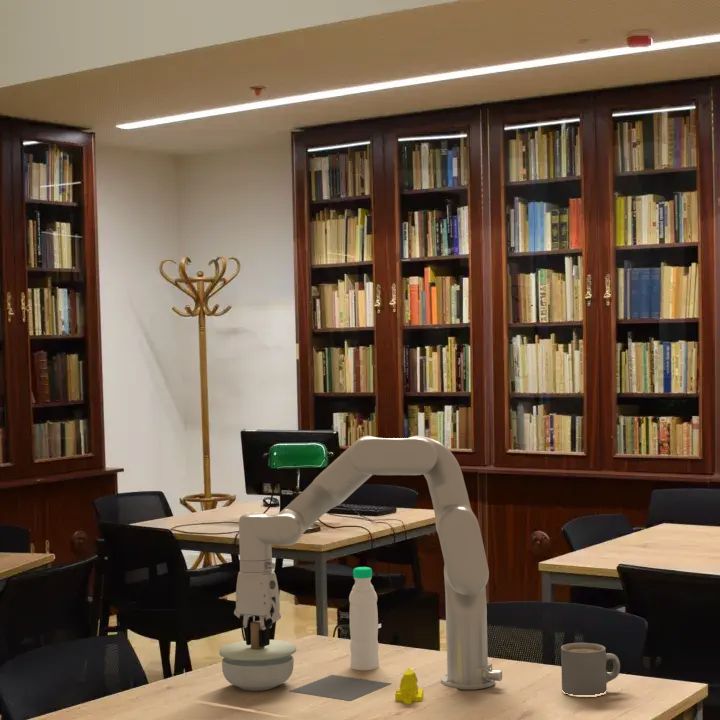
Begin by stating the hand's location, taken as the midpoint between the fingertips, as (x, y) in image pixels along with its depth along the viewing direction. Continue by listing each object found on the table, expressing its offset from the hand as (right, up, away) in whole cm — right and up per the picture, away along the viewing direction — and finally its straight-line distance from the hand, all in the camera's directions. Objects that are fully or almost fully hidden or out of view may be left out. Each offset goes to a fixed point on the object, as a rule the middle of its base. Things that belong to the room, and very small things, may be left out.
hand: (257, 644), depth 277 cm
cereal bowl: (0, -11, 0) cm, 11 cm away
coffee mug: (+76, -8, -10) cm, 78 cm away
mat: (+20, -10, -4) cm, 22 cm away
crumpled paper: (+35, -10, -14) cm, 39 cm away
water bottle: (+25, -10, +16) cm, 31 cm away
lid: (0, -2, 0) cm, 2 cm away
